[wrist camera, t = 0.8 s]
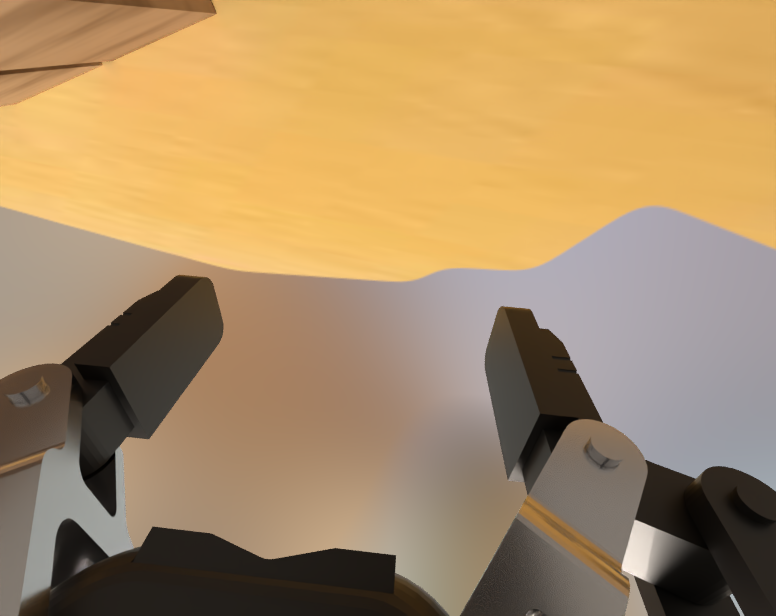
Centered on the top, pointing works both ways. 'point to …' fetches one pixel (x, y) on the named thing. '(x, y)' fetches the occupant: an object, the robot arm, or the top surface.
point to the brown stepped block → (79, 37)
